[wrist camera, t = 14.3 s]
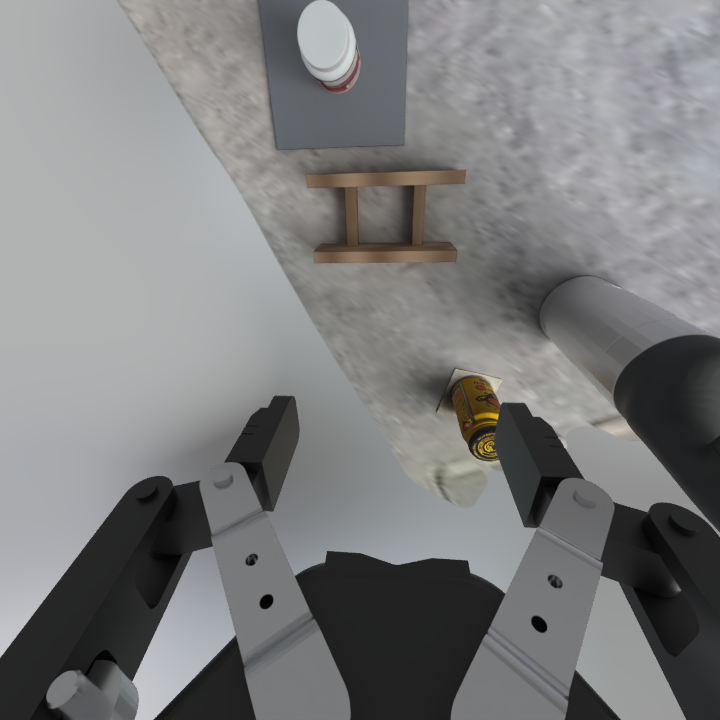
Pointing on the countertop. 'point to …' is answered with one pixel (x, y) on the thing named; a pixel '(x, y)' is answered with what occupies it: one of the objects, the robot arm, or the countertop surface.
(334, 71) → the pill bottle
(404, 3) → the mat
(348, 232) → the wooden rack
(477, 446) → the condiment
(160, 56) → the countertop surface
